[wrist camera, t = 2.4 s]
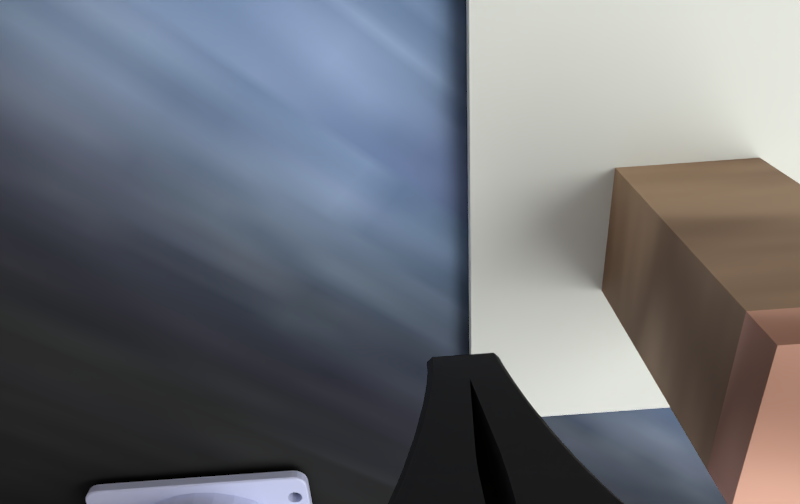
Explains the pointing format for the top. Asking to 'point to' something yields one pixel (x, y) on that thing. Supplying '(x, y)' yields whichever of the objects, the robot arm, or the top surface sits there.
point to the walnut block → (716, 311)
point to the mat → (601, 163)
